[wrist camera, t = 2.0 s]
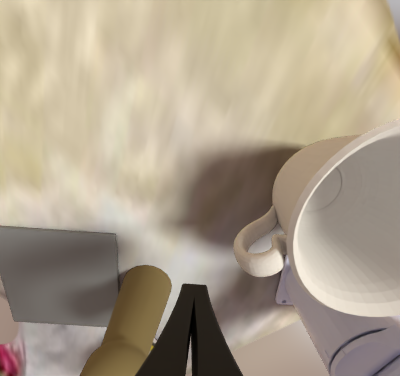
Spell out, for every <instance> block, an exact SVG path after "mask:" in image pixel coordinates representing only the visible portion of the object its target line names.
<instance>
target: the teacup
mask: <svg viewBox="0 0 400 376" xmlns="http://www.w3.org/2000/svg"><path fill="white" fill-rule="evenodd" d="M272 201H273V205H272V207H271V208H270V210H269V211H268V212H267V213H266V214H265V215H264V216H262V217H261V218H259V219H257V220H255V221H254V222H252V223H250V224H248V225H247V226H246V227H244V228H243V229H242V230H241V231H240V232H239V233H238V235H237V236H236V238H235V241H234V246H233V247H234V254H235V257H236V260H237V262H238V263H239V265H240V266H241V268H242V269H243V270H244V271H245V272H247V273H248V274H250V275H252V276H256V277H266V276H271V275H274V274H276V273H278V272H279V271H281V269H282V268H283V265H284V256H283V254H286V255H288V259H289V264H290V267H291V270H292V272H293V275H294V276H295V278H296V280H297V282H298V283H299V285H300V286H301V287H302V289H303V290H304V291H305V292H306V293H307V294H308V295H309V296H310V297H311V298H313V299H314V300H316V301H317V302H319V303H320V304H322V305H324V306H326V307H329V308H331V309H333V310H337V311H340V312H343V313H347V314H352V315H357V316H367V317H387V316H396V315H400V119H396V120H393V121H390V122H388V123H386V124H383V125H381V126H378V127H376V128H374V129H372V130H370V131H369V132H367V133H365V134H363V135H354V136H344V137H337V138H331V139H326V140H322V141H318V142H316V143H313V144H311V145H308V146H306V147H304V148H303V149H301V150H299V151H298V152H297V153H295V154H294V155H293V156H292V157H291V158H290V159H289V160H288V161H287V162H286V163H285V164H284V165H283V167H282V168H281V170H280V171H279V173H278V175H277V177H276V179H275V182H274V186H273V192H272ZM277 222H279V224H280V226H281V228H282V229H283V231H284V233H285V234H283V235H279V234H275V235H273V236H272V248H271V249H270V250H268V251H266V252H263V253H259V254H252V253H248V252H247V251H248V249H249V247H250V246H251V245H252V244H253V243H254V242H255V241H256V240H258V239H259V238H261V237H263V236H264V235H266V234H267V233H269V232H270V231H271V230H272V229H273V228H274V227H275V225H276V224H277Z"/></svg>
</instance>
